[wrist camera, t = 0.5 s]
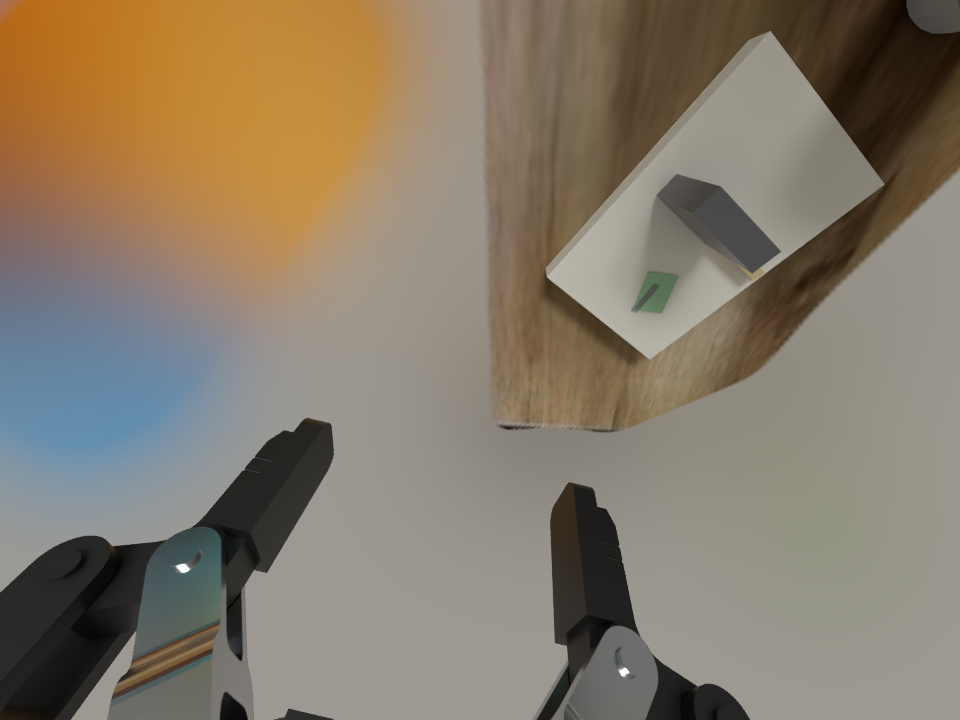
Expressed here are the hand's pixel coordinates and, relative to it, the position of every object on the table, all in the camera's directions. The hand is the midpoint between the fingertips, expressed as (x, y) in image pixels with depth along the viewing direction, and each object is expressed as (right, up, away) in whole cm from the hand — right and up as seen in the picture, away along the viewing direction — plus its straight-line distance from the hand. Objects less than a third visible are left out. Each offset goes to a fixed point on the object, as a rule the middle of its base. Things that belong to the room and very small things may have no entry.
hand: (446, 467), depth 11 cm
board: (+19, +15, +18) cm, 30 cm away
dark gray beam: (+20, +14, +16) cm, 29 cm away
